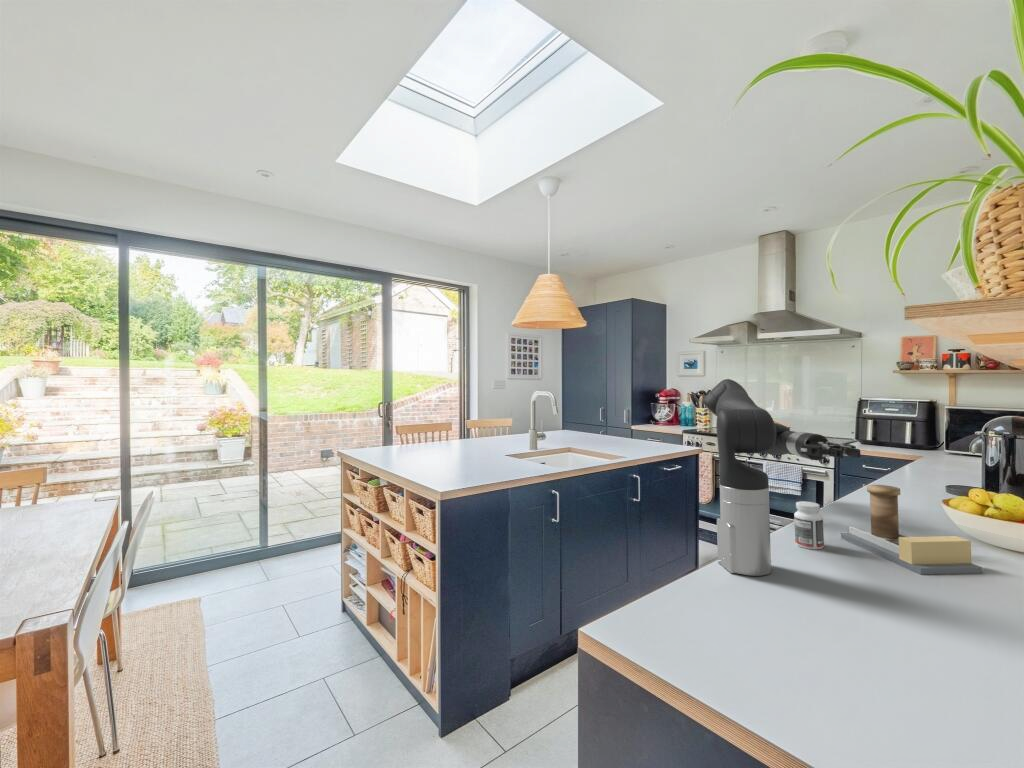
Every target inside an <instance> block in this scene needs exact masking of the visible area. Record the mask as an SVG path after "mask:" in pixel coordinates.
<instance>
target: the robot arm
mask: <svg viewBox="0 0 1024 768" xmlns="http://www.w3.org/2000/svg"><path fill="white" fill-rule="evenodd" d="M703 403H704V405H705V407H706V408H707V409H708V410H709V411H710V412H711V413H712V414H713V415H715V416H716V439H717V451H718V466H719V467H718V468H719V470H718V471H719V473H718V474H719V477H718V478H719V479H718V480H719V503H720V504H719V505H720V506H719V510H720V513H719V514H720V517H718V518H716V536H717V539H716V541H717V544H716V545H717V546H716V547H717V563H719V564H720V565H721V566H722V567H723V568H724V569H726V571H728V572H729V573H731V574H740V575H745V576H756V577H757V576H759V577H760V576H765V575H769V574H770V573H772V553H771V552H772V550H771V523H770V522H771V521H770V514H771V513H770V487H769V484H770V483H769V476H768V474H767V473H766V472H765V471H763V470H760V469H758V468H755V467H752V466H749V465H746V463H745V464H744V463H743V462H742V461H740V460H738V459H737V458H736V454H767V455H771V456H783V455H784V456H785V455H789V454H791V455H794V456H797V457H799V458H804V459H807V460H808V459H809V460H812V461H821V460H824V459H825V458H829V457H832V458H837V459H843V458H844V456H845V457H846V456H847V457H850V458H861V450H860V449H859V448H857V447H856V445H853V444H849V443H848V442H847V443H844V444H843V443H838V442H834V441H831V440H830V441H829V439H827V437H826V436H824V435H823V434H818V433H811V432H805V431H794V430H790V428H789V427H787V426H786V425H783V424H781V423H778V422H777V423H776V422H775V421H774V418H773V417H772V415H771V414H770V413H769V411H767V410H766V409H764V408H762V407H760V406H758V405H757V404H756V402H754V400H753V399H752V398H751V397H750V396H749V394H748V392H747V391H746V389H745V388H744V387H743V386H742V385H741V384H740V383H739V382H737V381H735V380H734V379H730V378H725V379H722V380H721V381H720V382H719V383H718V384H717V385H715V386H714V387H713V388H712V389H711V390H710V391H709V392H707V393H706V395H705V396H704V397H703ZM730 554H731V555H730ZM723 558H724V559H723ZM718 560H721V561H718Z"/></svg>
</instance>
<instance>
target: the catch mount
mask: <svg viewBox="0 0 1024 768" xmlns="http://www.w3.org/2000/svg"><path fill="white" fill-rule="evenodd" d="M848 530H849V532H840V538H841V539H843V540H845V541H847V542H849V543H851V544H853V545H857V546H858V547H860V548H862V549H865V550H867V551H869V552H870V553H874V554H875V555H878V556H880V557H881V558H885V559H886V560H889V561H891V562H892V563H895V564H897V565H899V566H902V567H904V568H906V569H908V570H911V571H913V572H914V573H917V574H919V575H959V574H962V575H963V574H964V575H965V574H966V575H967V574H983V567H982V566H979V565H978V564H974V563H972V541H971V540H969V539H967V538H963V537H960V536H957V535H949V536H944V535H941V536H909V535H906V534H903V533H901V532H899V536H900V537H899V544H894V543H891V542H889V541H886V540H884V539H881V538H879V537H877V536H874V535H872V534H869V533H867V532H868V531H865V530H862V529H859V528H856V527H854V526H849V527H848Z"/></svg>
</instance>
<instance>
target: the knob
mask: <svg viewBox="0 0 1024 768" xmlns="http://www.w3.org/2000/svg"><path fill="white" fill-rule="evenodd" d="M866 492H867V493H869V501H870V502H869V505H870V506H869V507H870V509H869V510H870V531H866V532H867V533H869V534H872V535H874V536H877V537H879V538H881V539H884V540H886V541H889V542H891V543H894V544H899V537H900V536H899V533H900V527H899V500H898V498H899V496H901V488H899V487H897V486H892V485H886V484H867V486H866Z"/></svg>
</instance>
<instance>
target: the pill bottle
mask: <svg viewBox="0 0 1024 768" xmlns="http://www.w3.org/2000/svg"><path fill="white" fill-rule="evenodd" d="M795 508H796V509H797V511H795V512H794V514H793V515H794V516H793V519H794V520H793V521H794V522H793V523H794V542H795V544H796V546H798V547H800V548H803V549H807V550H821V549H823V548H824V547H825V541H824V540H825V539H824V538H825V536H824V518H823V515H822V514H821V513H820V510H821V509H820V508H821V507H820V504H819V503H817V502H813V501H804V500H803V501H796V502H795Z"/></svg>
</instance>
